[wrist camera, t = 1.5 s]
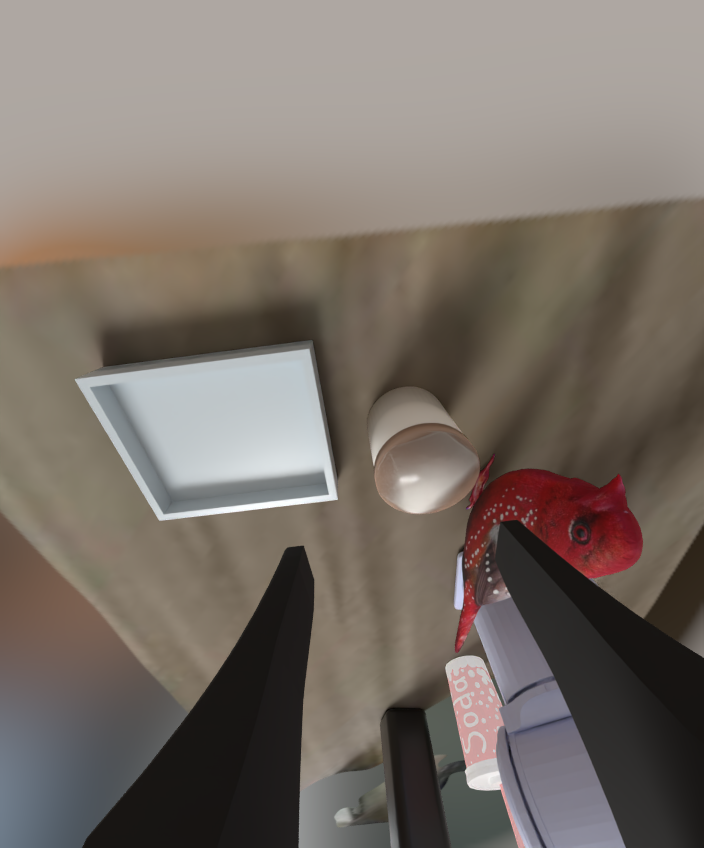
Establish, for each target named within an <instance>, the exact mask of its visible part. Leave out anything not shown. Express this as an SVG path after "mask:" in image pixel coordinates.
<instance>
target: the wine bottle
mask: <svg viewBox="0 0 704 848" xmlns="http://www.w3.org/2000/svg"><path fill="white" fill-rule="evenodd" d="M380 729H381V740H382V752H383V763H384V774H385V785H386V796H387V807H388V818H389V830H390V841H391V848H451V843H450V838H449V832H448V827H447V822H446V818H445V812H444V806H443V801H442V796H441V791H440V786H439V780H438V775H437V770H436V765H435V760H434V755H433V749H432V744H431V740H430V734H429V729H428V723H427V718H426V714H425V712H424V711H423V710H421V709H390V710H388V711H387V712H386V714H385V715H384V717H383V719H382V721H381V723H380Z"/></svg>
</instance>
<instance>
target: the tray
mask: <svg viewBox="0 0 704 848" xmlns="http://www.w3.org/2000/svg"><path fill="white" fill-rule="evenodd" d="M75 381H76V382H77V384H78V386H79V387H80V389H81V391H82V392H83V394H84V396H85V397H86V399H87V401H88V402H89V404H90V406H91V407H92V409H93V411H94V412H95V414H96V416H97V417H98V419H99V421H100V422H101V424H102V426H103V427H104V429H105V431H106V432H107V434H108V436H109V437H110V439H111V441H112V442H113V444H114V446H115V447H116V449H117V451H118V452H119V454H120V456H121V457H122V459H123V461H124V462H125V464H126V466H127V467H128V469H129V471H130V472H131V474H132V476H133V477H134V479H135V481H136V482H137V484H138V486H139V487H140V489H141V491H142V492H143V494H144V496H145V497H146V499H147V501H148V502H149V504H150V506H151V507H152V509H153V511H154V513H155V514H156V516H157V518H158V519H159V521H161V520H169V519H178V518H186V517H195V516H203V515H212V514H220V513H229V512H237V511H246V510H254V509H263V508H271V507H279V506H288V505H296V504H305V503H313V502H322V501H330V500H338V478H337V473H336V467H335V462H334V456H333V451H332V445H331V440H330V434H329V429H328V423H327V417H326V412H325V406H324V401H323V395H322V390H321V384H320V379H319V373H318V368H317V362H316V357H315V351H314V345H313V340H307V341H299V342H292V343H284V344H276V345H269V346H261V347H253V348H246V349H238V350H230V351H223V352H215V353H207V354H200V355H192V356H184V357H176V358H169V359H161V360H153V361H146V362H138V363H130V364H123V365H115V366H107V367H102V368H99V369H97V370H95V371H92V372H90V373H88V374H86V375H83V376H81V377H79V378H76V379H75Z"/></svg>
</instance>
